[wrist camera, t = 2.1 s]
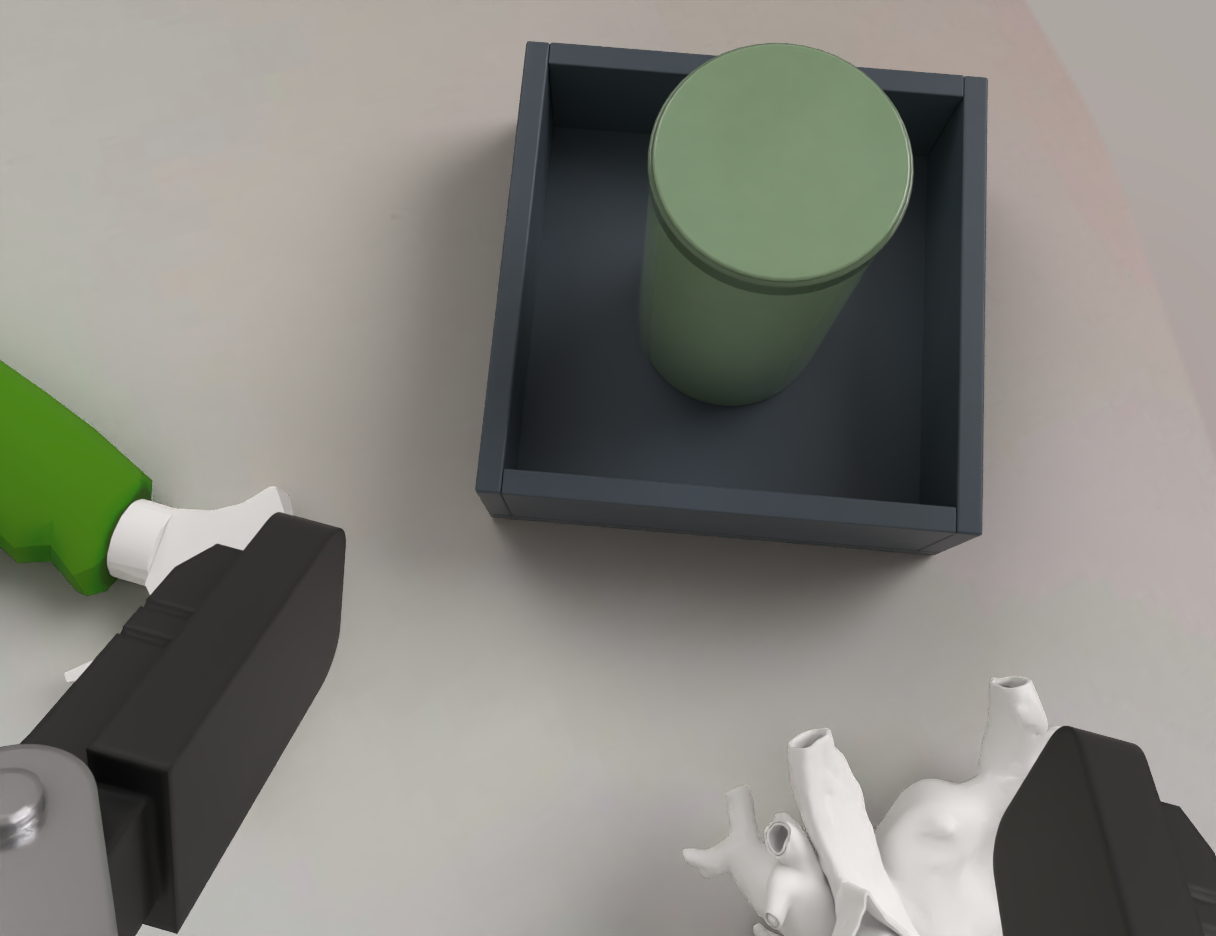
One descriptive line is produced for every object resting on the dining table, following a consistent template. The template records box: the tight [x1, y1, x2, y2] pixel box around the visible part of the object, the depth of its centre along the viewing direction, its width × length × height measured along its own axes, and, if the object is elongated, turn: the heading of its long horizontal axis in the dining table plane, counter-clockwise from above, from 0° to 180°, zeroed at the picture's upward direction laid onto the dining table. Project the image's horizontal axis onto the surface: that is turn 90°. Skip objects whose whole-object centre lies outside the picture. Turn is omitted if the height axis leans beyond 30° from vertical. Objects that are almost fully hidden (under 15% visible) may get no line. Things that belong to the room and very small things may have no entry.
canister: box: [638, 43, 914, 406], centre depth 28 cm, size 6×6×10 cm
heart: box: [683, 676, 1061, 936], centre depth 27 cm, size 12×7×12 cm
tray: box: [475, 41, 988, 555], centre depth 31 cm, size 13×13×4 cm
